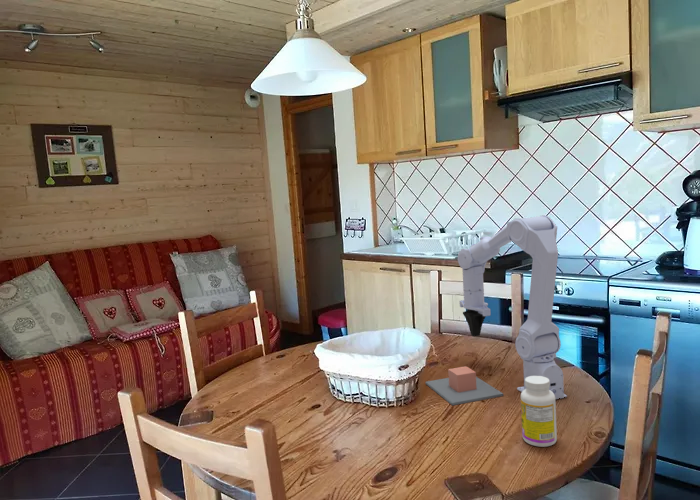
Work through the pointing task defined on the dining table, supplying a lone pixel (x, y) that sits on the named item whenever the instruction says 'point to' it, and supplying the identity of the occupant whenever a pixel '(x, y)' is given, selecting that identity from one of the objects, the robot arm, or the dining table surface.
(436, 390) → the grey square base plate
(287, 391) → the dining table surface
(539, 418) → the supplement bottle
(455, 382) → the peach rounded cube
